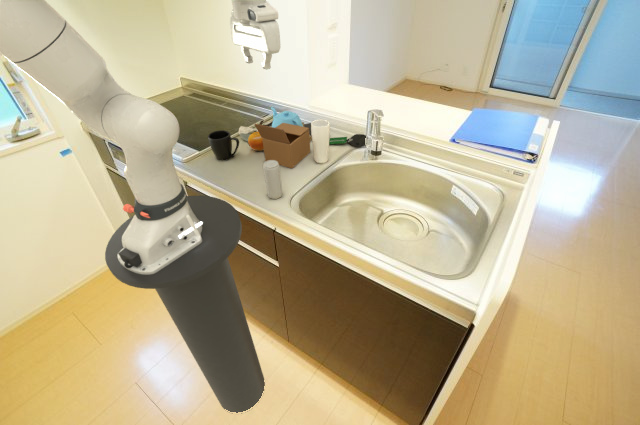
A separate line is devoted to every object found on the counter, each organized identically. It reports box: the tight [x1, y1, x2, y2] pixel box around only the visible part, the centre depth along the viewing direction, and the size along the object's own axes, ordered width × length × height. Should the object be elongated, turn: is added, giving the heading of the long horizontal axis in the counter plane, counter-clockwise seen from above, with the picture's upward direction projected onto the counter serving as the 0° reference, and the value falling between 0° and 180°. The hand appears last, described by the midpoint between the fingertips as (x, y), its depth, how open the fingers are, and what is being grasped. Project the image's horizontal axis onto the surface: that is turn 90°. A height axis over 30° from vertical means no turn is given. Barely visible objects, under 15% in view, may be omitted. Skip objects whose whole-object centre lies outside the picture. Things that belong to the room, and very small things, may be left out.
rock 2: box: [346, 133, 367, 148], centre depth 129 cm, size 9×7×5 cm
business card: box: [329, 136, 348, 145], centre depth 131 cm, size 9×1×5 cm
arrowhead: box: [238, 125, 257, 135], centre depth 141 cm, size 8×2×10 cm
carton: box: [262, 123, 311, 169], centre depth 120 cm, size 14×12×10 cm
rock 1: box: [239, 133, 252, 142], centre depth 135 cm, size 9×2×5 cm
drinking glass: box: [310, 119, 331, 164], centre depth 116 cm, size 7×7×15 cm
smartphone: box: [304, 122, 312, 137], centre depth 141 cm, size 7×1×15 cm
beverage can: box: [262, 160, 283, 200], centre depth 100 cm, size 5×5×12 cm
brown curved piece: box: [259, 119, 273, 127], centre depth 144 cm, size 13×5×10 cm
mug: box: [207, 129, 240, 161], centre depth 121 cm, size 8×12×10 cm
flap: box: [253, 123, 290, 144], centre depth 109 cm, size 7×12×1 cm
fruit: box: [247, 130, 264, 152], centre depth 127 cm, size 8×8×8 cm
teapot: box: [270, 106, 303, 128], centre depth 135 cm, size 13×11×18 cm
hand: (257, 65), depth 92 cm, fingers open, 8 cm apart
